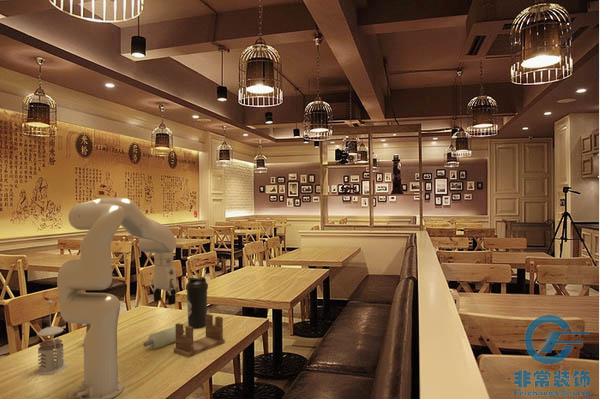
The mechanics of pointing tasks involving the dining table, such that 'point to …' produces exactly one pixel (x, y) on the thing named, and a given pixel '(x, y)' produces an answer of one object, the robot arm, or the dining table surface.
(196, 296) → the water bottle
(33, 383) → the dining table surface
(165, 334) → the roll
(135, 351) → the dining table surface
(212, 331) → the holder
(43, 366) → the french press
